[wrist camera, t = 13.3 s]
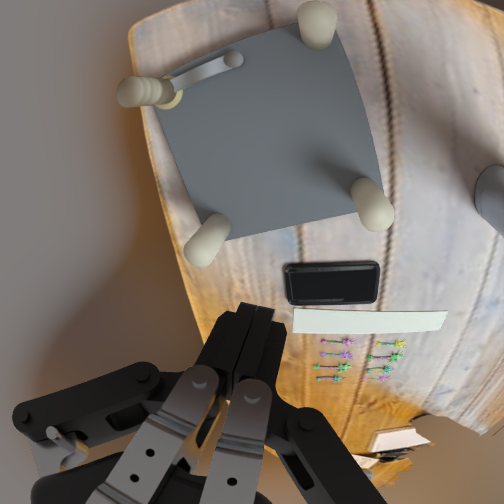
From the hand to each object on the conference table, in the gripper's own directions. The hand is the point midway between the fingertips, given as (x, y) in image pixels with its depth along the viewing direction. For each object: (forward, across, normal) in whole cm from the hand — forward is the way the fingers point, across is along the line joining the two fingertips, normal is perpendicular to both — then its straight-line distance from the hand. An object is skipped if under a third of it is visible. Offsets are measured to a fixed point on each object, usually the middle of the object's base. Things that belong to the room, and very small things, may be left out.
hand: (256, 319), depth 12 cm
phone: (+28, -8, +17) cm, 34 cm away
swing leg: (+24, +14, -12) cm, 30 cm away
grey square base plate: (+27, +5, -5) cm, 28 cm away
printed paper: (+28, -19, +36) cm, 50 cm away
